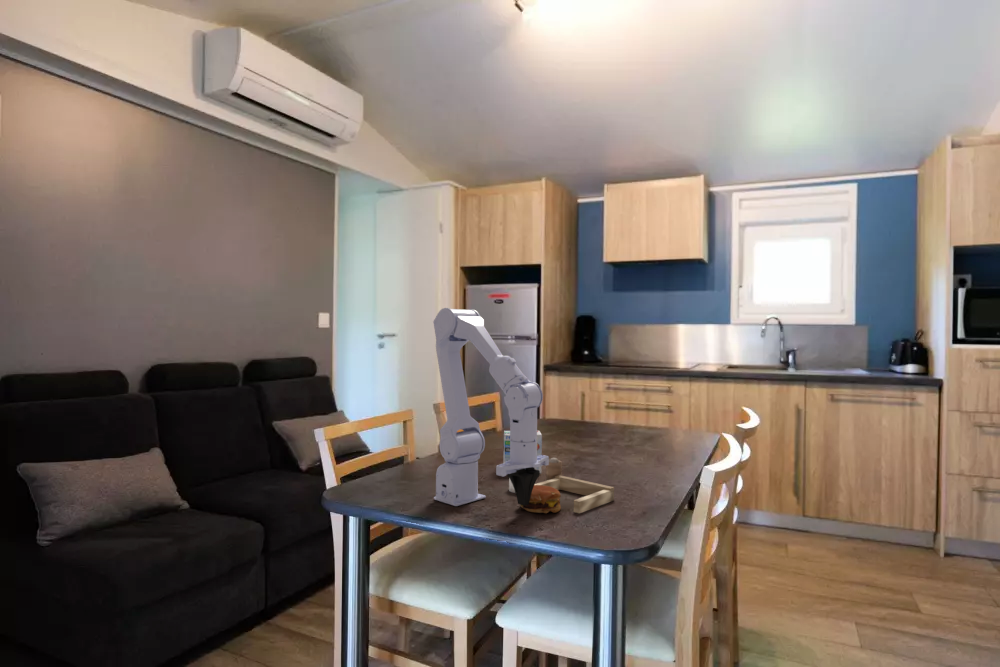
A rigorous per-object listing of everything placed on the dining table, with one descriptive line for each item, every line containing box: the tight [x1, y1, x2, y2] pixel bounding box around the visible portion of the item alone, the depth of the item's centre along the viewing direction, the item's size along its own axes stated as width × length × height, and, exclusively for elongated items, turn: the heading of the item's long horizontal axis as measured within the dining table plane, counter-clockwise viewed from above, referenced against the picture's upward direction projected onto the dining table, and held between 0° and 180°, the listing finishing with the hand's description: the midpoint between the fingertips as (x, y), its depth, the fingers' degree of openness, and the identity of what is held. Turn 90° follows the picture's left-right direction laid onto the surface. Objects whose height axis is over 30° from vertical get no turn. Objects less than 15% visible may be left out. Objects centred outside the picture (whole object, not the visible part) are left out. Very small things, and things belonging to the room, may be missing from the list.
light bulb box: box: [502, 430, 543, 474], centre depth 158 cm, size 11×7×11 cm, turn 92°
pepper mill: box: [545, 457, 563, 481], centre depth 143 cm, size 4×4×7 cm
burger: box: [519, 485, 562, 514], centre depth 124 cm, size 10×9×5 cm
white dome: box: [508, 477, 516, 494], centre depth 138 cm, size 6×6×4 cm
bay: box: [534, 475, 615, 514], centre depth 131 cm, size 14×16×3 cm
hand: (523, 504), depth 119 cm, fingers closed
